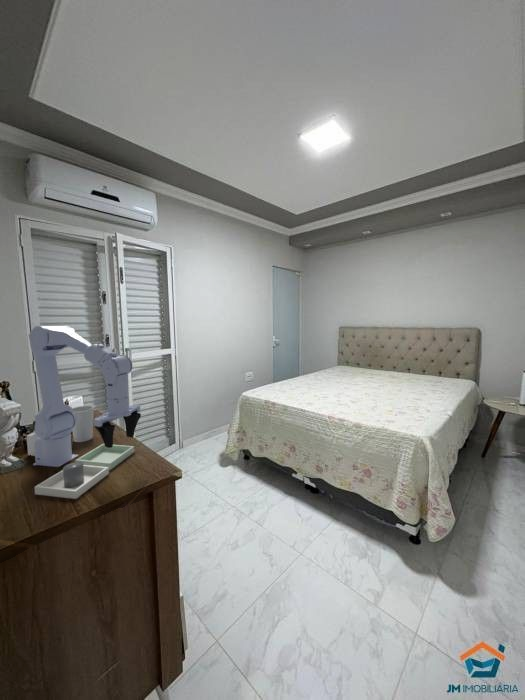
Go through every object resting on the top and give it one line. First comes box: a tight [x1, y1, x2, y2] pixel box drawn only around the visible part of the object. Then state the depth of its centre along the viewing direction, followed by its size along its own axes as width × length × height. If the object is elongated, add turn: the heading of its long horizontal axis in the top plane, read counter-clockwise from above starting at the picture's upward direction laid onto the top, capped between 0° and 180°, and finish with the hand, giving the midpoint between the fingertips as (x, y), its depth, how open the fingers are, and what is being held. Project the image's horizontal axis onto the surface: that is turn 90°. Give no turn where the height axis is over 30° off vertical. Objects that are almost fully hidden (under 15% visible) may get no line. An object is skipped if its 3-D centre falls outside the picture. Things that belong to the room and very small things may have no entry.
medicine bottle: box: [26, 420, 39, 457], centre depth 96 cm, size 7×7×12 cm
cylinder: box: [62, 462, 84, 488], centre depth 77 cm, size 5×5×5 cm
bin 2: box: [74, 443, 135, 471], centre depth 91 cm, size 12×12×3 cm
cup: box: [72, 405, 95, 443], centre depth 107 cm, size 8×8×12 cm
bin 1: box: [34, 465, 110, 500], centre depth 77 cm, size 12×12×3 cm
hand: (119, 441), depth 83 cm, fingers open, 7 cm apart
